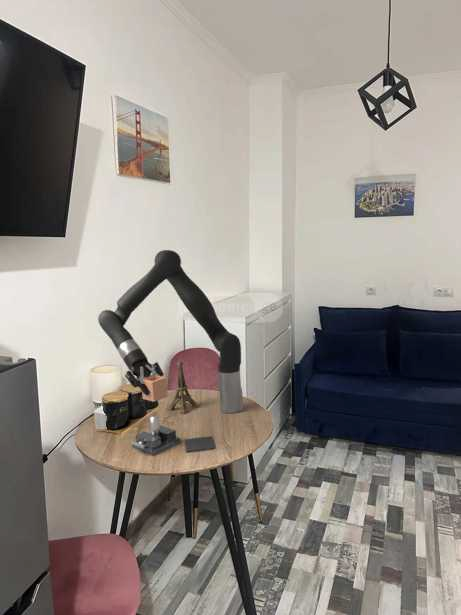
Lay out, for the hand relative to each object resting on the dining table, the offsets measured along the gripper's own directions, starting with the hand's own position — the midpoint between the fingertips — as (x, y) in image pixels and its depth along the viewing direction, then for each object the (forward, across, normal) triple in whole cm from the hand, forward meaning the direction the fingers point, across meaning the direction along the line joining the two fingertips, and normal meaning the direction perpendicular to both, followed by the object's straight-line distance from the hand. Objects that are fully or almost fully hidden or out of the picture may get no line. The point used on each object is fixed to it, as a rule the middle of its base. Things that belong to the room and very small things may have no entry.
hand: (155, 391), depth 160 cm
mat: (+23, +8, +6) cm, 25 cm away
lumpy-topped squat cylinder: (-8, +2, +37) cm, 38 cm away
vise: (+13, -1, +15) cm, 20 cm away
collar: (+1, 0, +2) cm, 3 cm away
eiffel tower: (0, +30, +29) cm, 42 cm away
